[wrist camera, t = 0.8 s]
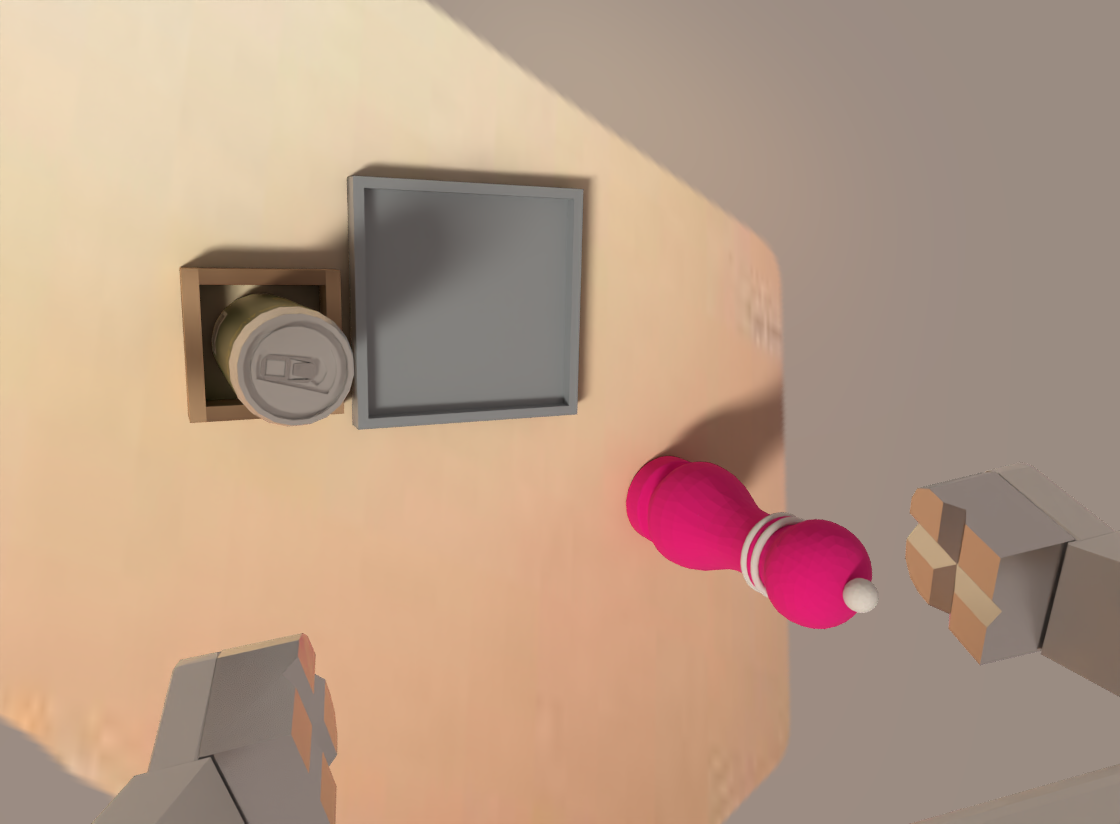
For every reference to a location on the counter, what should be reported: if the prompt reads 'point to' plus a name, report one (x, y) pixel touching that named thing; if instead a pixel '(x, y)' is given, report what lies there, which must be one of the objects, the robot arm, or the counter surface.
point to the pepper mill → (751, 541)
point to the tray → (462, 301)
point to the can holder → (193, 333)
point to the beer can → (283, 359)
